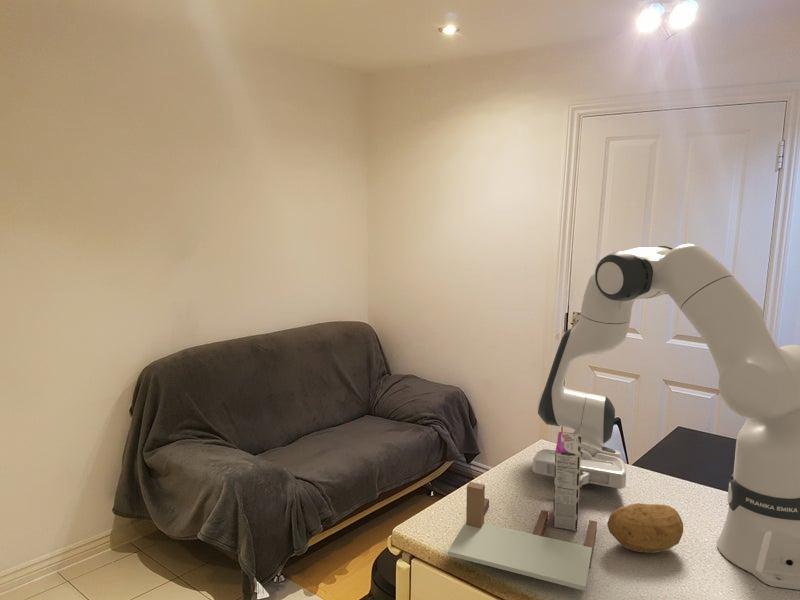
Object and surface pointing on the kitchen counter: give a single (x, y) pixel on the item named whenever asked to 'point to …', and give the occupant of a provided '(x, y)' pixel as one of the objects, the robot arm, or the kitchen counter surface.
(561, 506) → the candy bar box
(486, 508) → the frame
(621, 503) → the kitchen counter surface
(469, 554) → the lid
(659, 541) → the potato
